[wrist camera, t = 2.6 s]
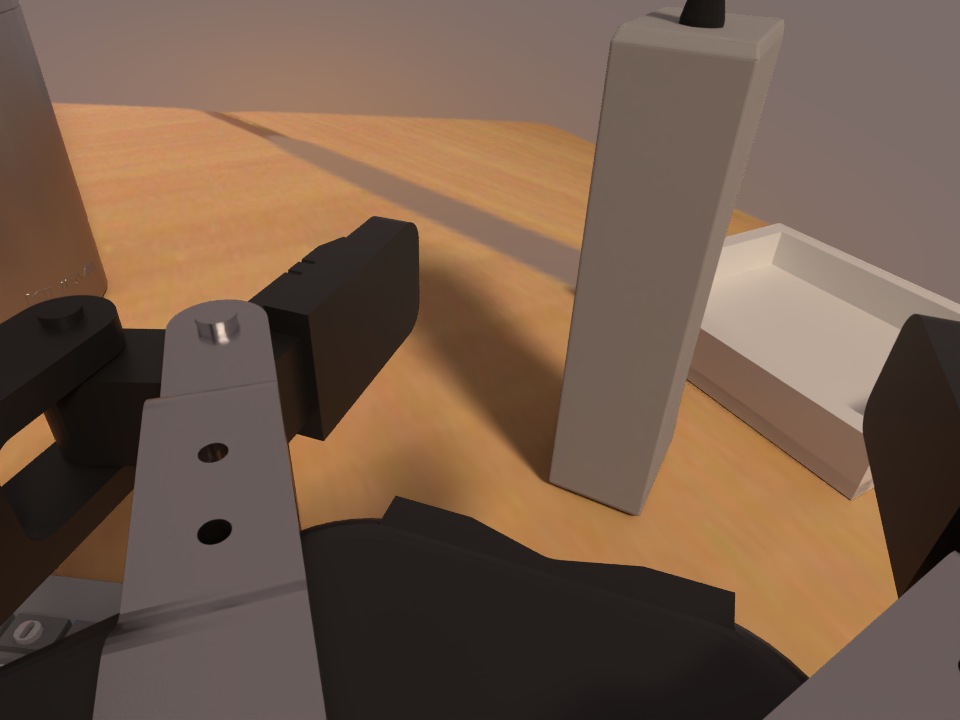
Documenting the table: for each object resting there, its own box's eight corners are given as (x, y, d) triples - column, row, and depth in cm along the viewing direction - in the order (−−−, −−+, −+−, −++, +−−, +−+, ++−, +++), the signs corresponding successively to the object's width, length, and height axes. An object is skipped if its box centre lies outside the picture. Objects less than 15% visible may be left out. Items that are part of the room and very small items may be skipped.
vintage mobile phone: (670, 445, 29) (903, -398, 15) (637, 522, 25) (906, -503, 11) (589, 417, 30) (730, -382, 16) (547, 487, 27) (681, -470, 12)
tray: (851, 500, 27) (880, 444, 25) (599, 314, 38) (607, 267, 36) (1026, 399, 33) (1059, 349, 31) (765, 265, 44) (779, 223, 42)
